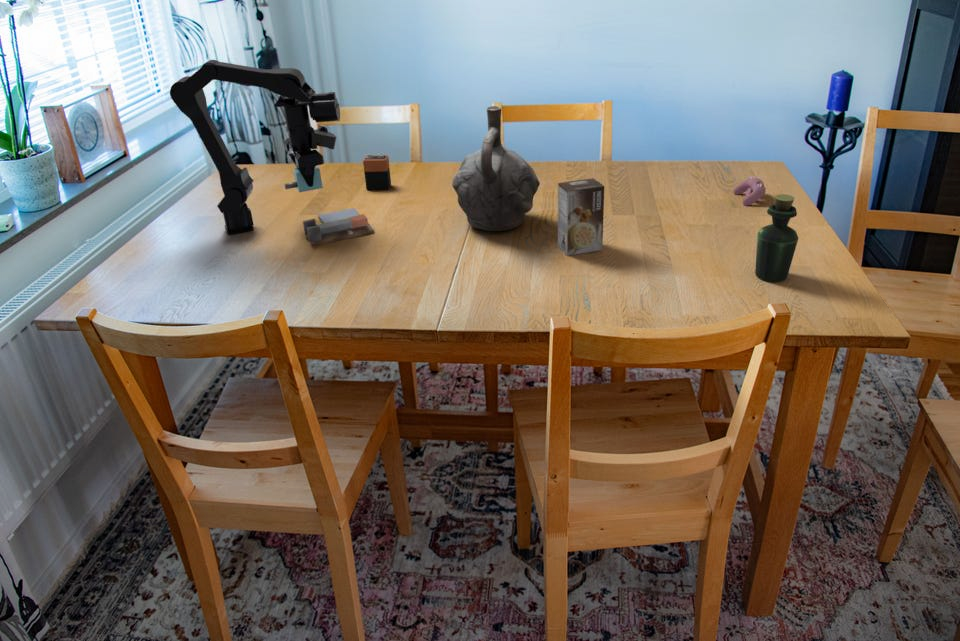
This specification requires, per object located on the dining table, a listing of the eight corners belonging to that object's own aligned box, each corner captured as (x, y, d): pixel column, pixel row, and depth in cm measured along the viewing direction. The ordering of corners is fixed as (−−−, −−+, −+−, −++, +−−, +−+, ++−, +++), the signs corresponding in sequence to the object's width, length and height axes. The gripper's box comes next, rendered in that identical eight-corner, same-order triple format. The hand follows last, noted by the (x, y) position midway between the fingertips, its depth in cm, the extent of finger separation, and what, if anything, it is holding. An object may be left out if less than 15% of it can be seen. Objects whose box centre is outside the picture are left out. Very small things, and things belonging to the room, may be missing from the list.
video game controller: (756, 211, 198) (771, 188, 195) (741, 204, 197) (757, 181, 194) (744, 198, 207) (759, 176, 204) (730, 191, 206) (745, 169, 203)
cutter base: (310, 245, 186) (307, 229, 184) (305, 237, 191) (302, 220, 189) (374, 232, 192) (372, 216, 189) (367, 224, 196) (365, 209, 194)
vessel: (548, 241, 183) (549, 118, 168) (458, 248, 181) (451, 124, 166) (532, 205, 204) (531, 93, 189) (451, 211, 202) (445, 98, 188)
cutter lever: (311, 236, 187) (310, 230, 186) (309, 232, 189) (307, 225, 188) (368, 224, 192) (367, 218, 191) (364, 220, 194) (363, 214, 193)
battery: (389, 190, 219) (385, 156, 214) (366, 190, 219) (362, 157, 214) (391, 184, 223) (388, 152, 218) (368, 185, 223) (365, 152, 218)
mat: (327, 231, 194) (326, 227, 193) (318, 218, 202) (318, 214, 201) (364, 223, 197) (364, 220, 197) (354, 211, 205) (354, 207, 205)
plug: (287, 194, 189) (284, 175, 186) (284, 189, 192) (281, 171, 190) (322, 188, 192) (319, 169, 189) (319, 183, 195) (316, 164, 192)
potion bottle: (744, 276, 163) (756, 198, 154) (762, 264, 168) (775, 187, 159) (779, 288, 158) (794, 207, 149) (797, 275, 163) (812, 196, 154)
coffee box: (592, 240, 182) (594, 177, 174) (602, 250, 177) (606, 186, 169) (556, 246, 181) (557, 182, 172) (566, 256, 175) (568, 191, 167)
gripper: (339, 126, 179) (348, 189, 187) (322, 110, 194) (331, 168, 202) (293, 134, 176) (304, 197, 183) (278, 116, 191) (290, 175, 198)
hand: (309, 184), depth 192 cm, fingers closed on plug, 4 cm apart
